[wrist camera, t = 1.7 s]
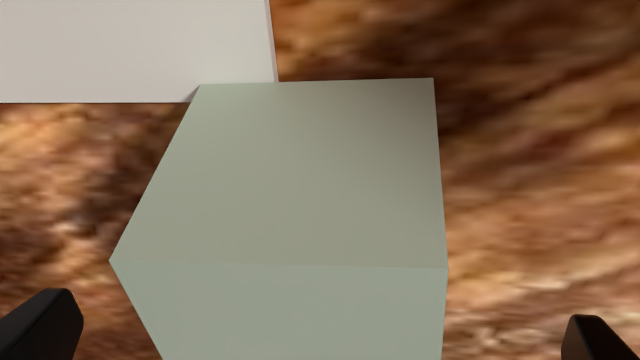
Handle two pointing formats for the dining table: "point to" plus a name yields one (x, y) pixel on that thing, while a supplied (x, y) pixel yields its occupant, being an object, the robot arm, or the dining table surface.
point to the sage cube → (294, 226)
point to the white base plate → (131, 49)
